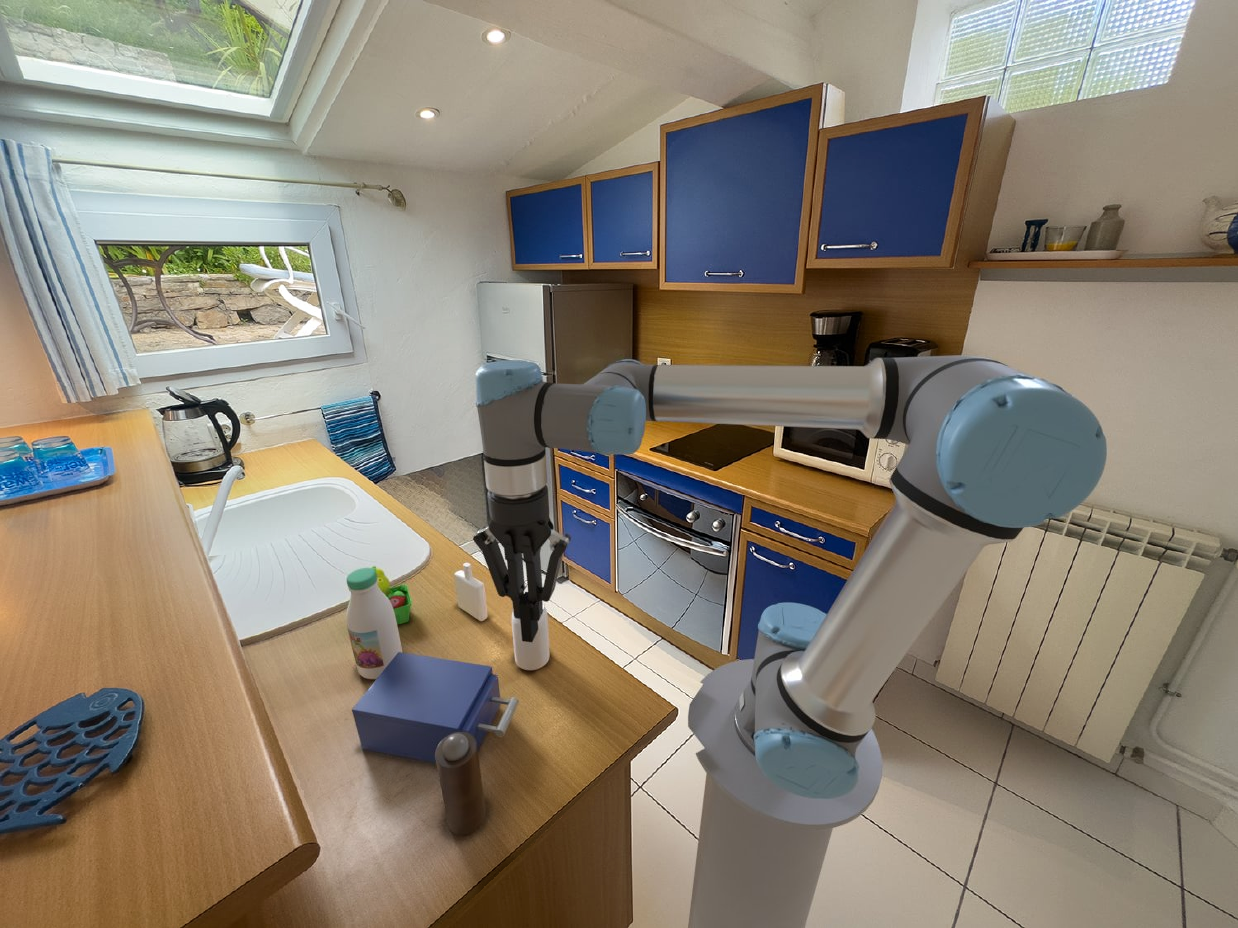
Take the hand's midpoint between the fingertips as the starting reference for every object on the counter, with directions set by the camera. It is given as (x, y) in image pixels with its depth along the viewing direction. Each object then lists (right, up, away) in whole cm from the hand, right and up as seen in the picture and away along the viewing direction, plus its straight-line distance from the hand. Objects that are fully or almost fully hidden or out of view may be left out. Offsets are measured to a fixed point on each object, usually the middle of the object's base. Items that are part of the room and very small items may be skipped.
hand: (530, 634), depth 71 cm
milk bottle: (-31, -13, +21) cm, 40 cm away
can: (-4, -12, +22) cm, 26 cm away
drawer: (-13, -17, +8) cm, 23 cm away
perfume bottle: (-18, -7, +34) cm, 40 cm away
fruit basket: (-36, -8, +32) cm, 49 cm away
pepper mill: (-8, -23, -4) cm, 25 cm away
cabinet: (-17, -18, +9) cm, 26 cm away
